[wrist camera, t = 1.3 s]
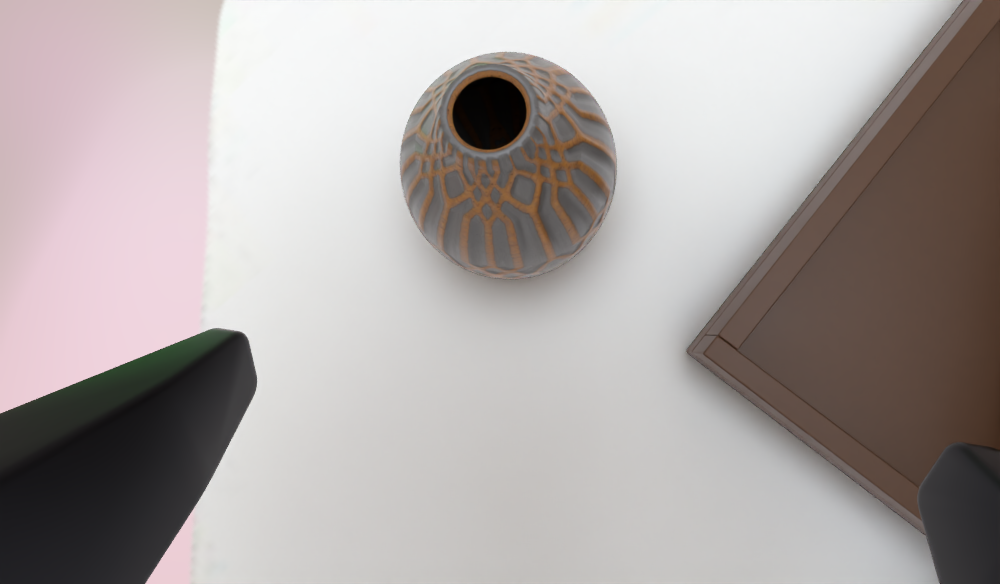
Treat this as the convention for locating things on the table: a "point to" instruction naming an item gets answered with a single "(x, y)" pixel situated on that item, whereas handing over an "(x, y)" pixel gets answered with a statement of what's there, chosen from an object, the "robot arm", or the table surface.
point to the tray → (887, 282)
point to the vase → (508, 165)
